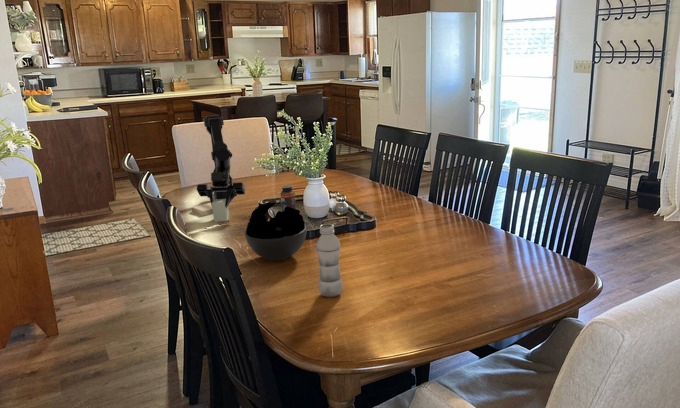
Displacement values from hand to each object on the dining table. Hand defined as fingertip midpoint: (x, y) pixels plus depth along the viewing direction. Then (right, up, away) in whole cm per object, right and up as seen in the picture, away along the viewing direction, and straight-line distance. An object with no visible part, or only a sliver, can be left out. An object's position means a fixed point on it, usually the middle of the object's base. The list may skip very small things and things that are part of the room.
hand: (219, 207), depth 228 cm
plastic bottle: (+46, -24, -70) cm, 87 cm away
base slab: (-8, -3, +17) cm, 19 cm away
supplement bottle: (+27, -2, +11) cm, 29 cm away
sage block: (0, -6, +3) cm, 7 cm away
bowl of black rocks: (+28, -17, -40) cm, 52 cm away
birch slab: (-8, -2, +16) cm, 18 cm away
